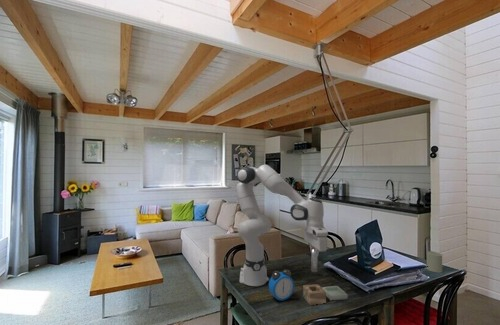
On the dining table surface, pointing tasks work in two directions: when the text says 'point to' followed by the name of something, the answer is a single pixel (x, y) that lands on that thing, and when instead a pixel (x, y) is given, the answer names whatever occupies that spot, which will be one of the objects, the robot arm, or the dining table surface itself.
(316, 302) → the block
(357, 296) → the dining table surface
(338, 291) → the tray
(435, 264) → the can
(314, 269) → the pin
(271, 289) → the alarm clock
